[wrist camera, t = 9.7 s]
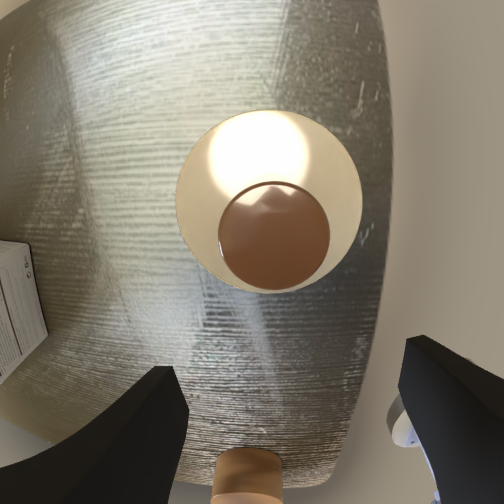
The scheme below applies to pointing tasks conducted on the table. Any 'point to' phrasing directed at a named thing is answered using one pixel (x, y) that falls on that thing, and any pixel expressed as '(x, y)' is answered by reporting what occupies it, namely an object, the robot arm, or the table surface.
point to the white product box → (18, 307)
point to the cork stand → (247, 477)
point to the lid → (268, 201)
